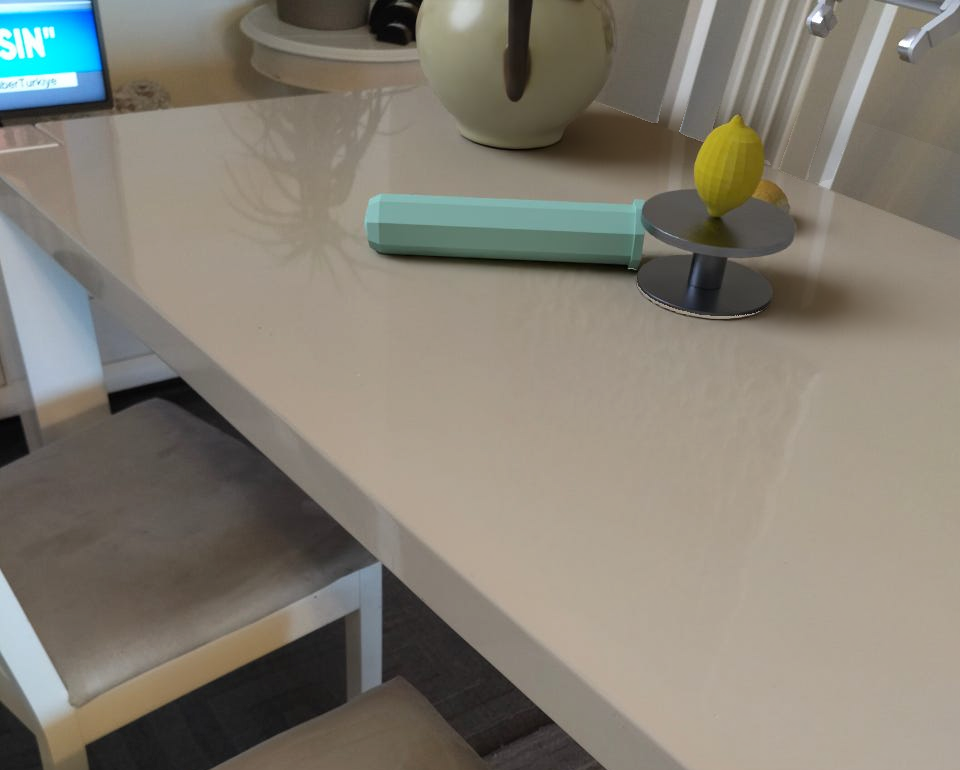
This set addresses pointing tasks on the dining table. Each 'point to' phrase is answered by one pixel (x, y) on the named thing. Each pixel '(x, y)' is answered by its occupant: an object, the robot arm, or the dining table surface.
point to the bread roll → (772, 195)
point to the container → (506, 228)
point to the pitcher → (516, 64)
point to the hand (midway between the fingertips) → (858, 43)
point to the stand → (711, 253)
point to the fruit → (729, 166)
